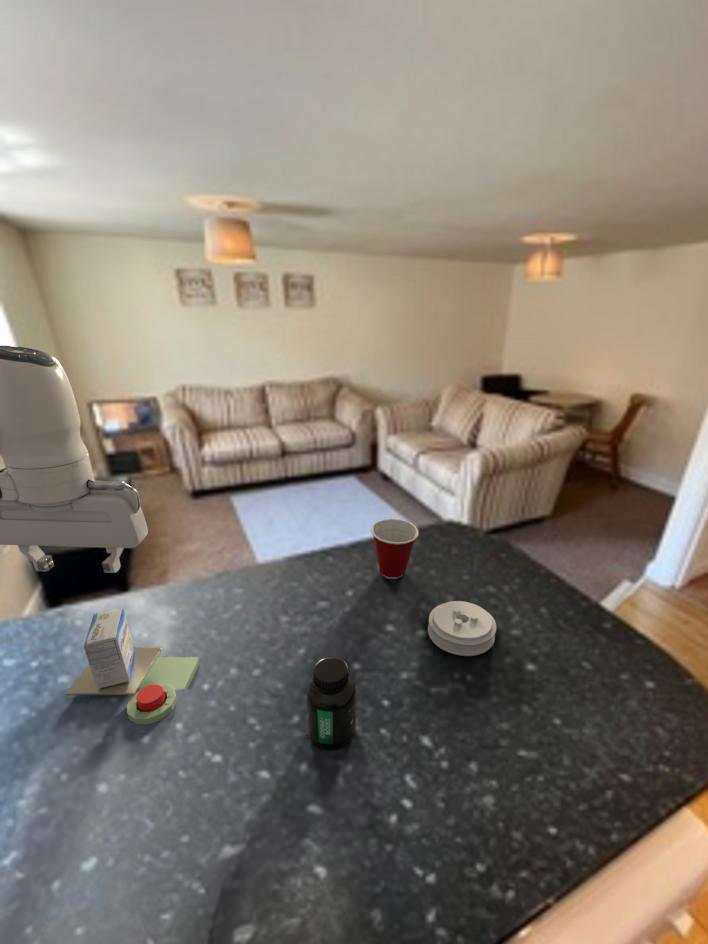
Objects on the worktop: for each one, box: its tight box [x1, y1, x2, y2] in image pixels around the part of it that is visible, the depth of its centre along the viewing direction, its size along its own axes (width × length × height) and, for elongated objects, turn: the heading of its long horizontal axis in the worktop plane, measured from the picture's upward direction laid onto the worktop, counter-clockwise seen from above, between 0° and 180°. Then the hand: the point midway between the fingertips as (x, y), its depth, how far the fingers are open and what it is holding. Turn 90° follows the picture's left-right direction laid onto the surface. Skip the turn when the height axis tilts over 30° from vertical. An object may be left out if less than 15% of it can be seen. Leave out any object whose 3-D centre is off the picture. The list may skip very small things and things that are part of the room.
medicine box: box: [83, 608, 135, 689], centre depth 70 cm, size 8×4×9 cm, turn 22°
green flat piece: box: [126, 656, 201, 725], centre depth 70 cm, size 16×14×3 cm
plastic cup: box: [370, 518, 419, 577], centre depth 103 cm, size 11×11×12 cm
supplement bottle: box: [306, 656, 357, 751], centre depth 64 cm, size 7×7×12 cm
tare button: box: [136, 684, 166, 712], centre depth 66 cm, size 4×4×2 cm
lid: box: [427, 600, 497, 657], centre depth 85 cm, size 13×13×5 cm
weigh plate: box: [65, 646, 163, 696], centre depth 72 cm, size 10×10×1 cm
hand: (79, 569), depth 64 cm, fingers open, 8 cm apart
